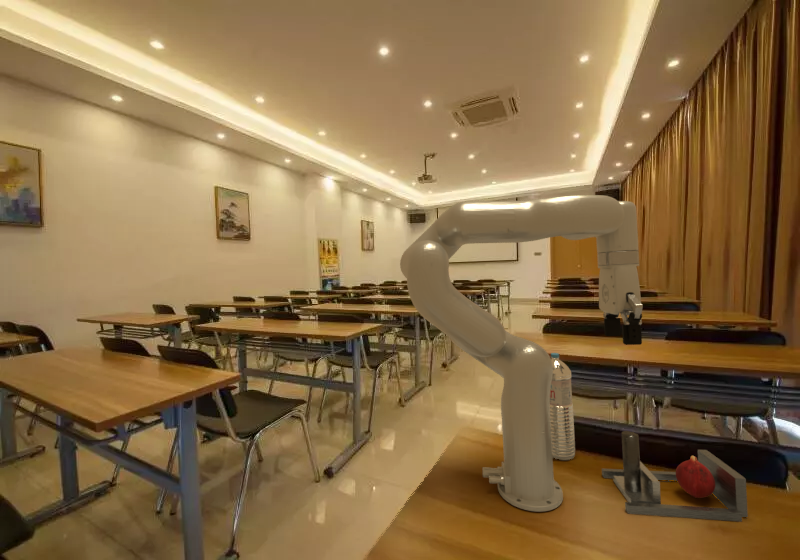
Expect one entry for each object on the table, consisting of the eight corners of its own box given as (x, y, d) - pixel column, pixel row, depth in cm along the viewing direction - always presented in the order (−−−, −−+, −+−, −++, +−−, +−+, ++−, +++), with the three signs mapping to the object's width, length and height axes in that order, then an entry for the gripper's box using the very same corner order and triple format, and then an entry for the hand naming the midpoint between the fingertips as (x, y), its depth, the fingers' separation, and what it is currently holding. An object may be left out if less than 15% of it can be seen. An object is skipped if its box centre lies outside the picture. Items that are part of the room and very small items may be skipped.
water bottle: (579, 462, 80) (574, 356, 80) (549, 461, 82) (543, 357, 81) (570, 447, 87) (565, 350, 87) (542, 446, 88) (537, 350, 88)
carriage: (631, 506, 65) (628, 443, 65) (613, 481, 73) (610, 425, 72) (661, 508, 64) (657, 444, 64) (639, 482, 72) (636, 426, 71)
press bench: (627, 513, 63) (626, 475, 63) (602, 475, 75) (600, 443, 75) (752, 522, 59) (750, 482, 59) (704, 480, 71) (702, 447, 71)
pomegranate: (724, 509, 63) (722, 466, 63) (688, 506, 64) (686, 464, 64) (703, 489, 68) (701, 449, 68) (670, 487, 70) (668, 448, 69)
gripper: (585, 262, 83) (589, 333, 83) (614, 260, 66) (619, 348, 66) (620, 260, 81) (624, 332, 81) (659, 257, 64) (663, 348, 64)
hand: (622, 339), depth 73 cm, fingers open, 9 cm apart
